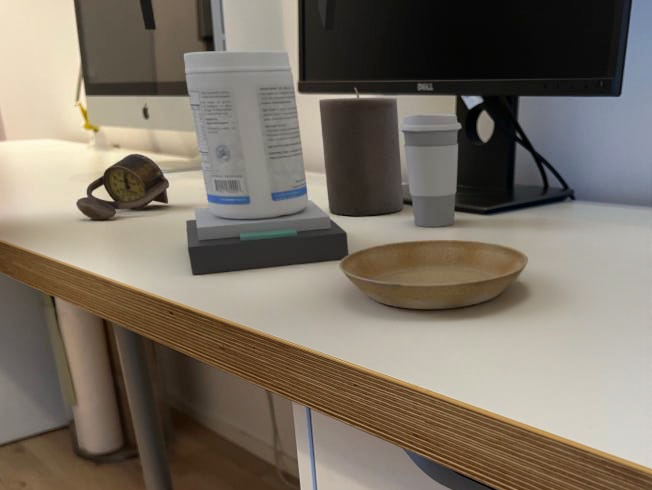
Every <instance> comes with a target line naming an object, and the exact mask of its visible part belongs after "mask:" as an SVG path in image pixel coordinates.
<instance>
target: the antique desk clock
mask: <svg viewBox="0 0 652 490" xmlns="http://www.w3.org/2000/svg"><path fill="white" fill-rule="evenodd" d="M102 186H103V187H104V189H105V191H106V192H107V194H108V196H109V197H110V198H111V199H112V200H107V199H101V198H98V197H96V196H94V195H93V192H94V191H96V190H98V189H99V188H100V187H102ZM168 188H170V182H169V179H167V178H166V177H165V175H164V173H163V171H162V169H161V167H159V165H158V164H156V162H155V161H154V160H153V159H151V158H149V157H148V156H146V155H143V154H141V153H140V154H139V153H130V154H128V155H127V156H125V157H123V158H122V159H120V160H119V161H117V162H115V163H114V164H112V165H110V166H109V167H108V168H106V169H105V171H104V172H103V175H102V176H100V177H99V178H97V179H95V180H94V181H92V182H90V183H89V184H88V186H87V187H86V197H81V198H79V199H77V201H76V202H75V205H76V207H77V209H78V210H79V211H80V212H81V213H82V214H83V215H84V216H86V217H87V218H89V219H92V220H108V219H110V218H114V216H115V215H116V214H117V210H132V211H139V210H142V209H144V208H146V207H147V206H148V205H149V204H150V203H152V202H157V203H161V204H166V205H168V204H169V198H168V192H167V189H168Z"/></svg>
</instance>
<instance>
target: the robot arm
mask: <svg viewBox="0 0 652 490" xmlns="http://www.w3.org/2000/svg"><path fill="white" fill-rule="evenodd" d="M317 3H318V4H317V9H318V12H319V16H320V20H321V23H322V27H323V30H324V31H325V32H334V31H335V20H336V19H335V18H336V7H337V0H318V2H317ZM139 5H140V9H141V15H142V19H143V25H144V29H145V30H146V31H147V30H149V31H150V30H155V31H157V27H156V20H155V14H154V8H153V2H152V0H139Z"/></svg>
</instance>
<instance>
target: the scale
mask: <svg viewBox="0 0 652 490" xmlns="http://www.w3.org/2000/svg"><path fill="white" fill-rule="evenodd" d="M194 216H195V219H187V220H186V221H185V225H186V241H187V251H188V257H189V262H190V268H191V273H192V275H193V276H196V275H204V274H216V273H224V272H233V271H243V270H244V271H245V270H253V269H263V268H272V267H280V266H291V265H299V264H300V265H301V264H308V263H318V262H328V261H338V260H342V259H343V258H344V257H346V256H347V255H349V254H350V253H349V244H348V243H349V242H348V232H346V231H345V230H344V229H343V228H342V227H341V226H339V224H338V223H336V222H335V221H334V220H333V219H332V218H331V217H330V215H329V214H328V213H326V212H325V211H324V210H323V209H322V208H321V207H319V205H317V204H316V203H315V202H313V201H312V199H308V204H307V206H306V207H305V208H304V209H303V210H301V211H299V212H297V213H294V214H290V215H281V216H278V217H273V218H264V219H228V218H222V217H218V216H216V215H214V214H213V213H212V212H211V211H210V208H209V207H203V208H201V207H200V208H194Z"/></svg>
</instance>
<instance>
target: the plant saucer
mask: <svg viewBox="0 0 652 490" xmlns="http://www.w3.org/2000/svg"><path fill="white" fill-rule="evenodd" d="M348 254H349V255H347V256H346V257H344V258H343V259H340V261H339V262H338V263H339V265H338V266H339V269H340V271H342V272H343V274H344V275H345V277H346V278H347V279H348V280H349V281H350V282H351V283H352V284H353V285H355V287H357V288H358V290H360V291H361V292H362V293H364V294H365V295H366V296H367V297H369V298H370V299H372V300H374V301H376V302H378V303H381V304H384V305H388V306H393V307H395V308H401V309H402V308H403V309H410V310H411V309H412V310H446V309H447V310H449V309H455V308H463V307H469V306H474V305H478V304H481V302H482V303H485V302H488V301H489V300H492V299H494V298H496V297H497V296H499V295H500V294H502V293H503V292H504V291H505V290H506V289H507V288H508V287H509V286H511V284H513V283H514V281H515V280H517V278H518V277H519V276H520V275H521V274H522V272H523V271H524V269H525V268H526V266H527V265H528V263H529V258H528V256H527V255H526V254H525V253H524V252H523V251H521V250H518V249H515V248H513V247H510V246H505V245H501V244H498V243H491V242H482V241H476V240H459V239H429V240H427V239H426V240H425V239H424V240H410V241H399V242H391V243H385V244H381V245H379V244H378V245H375V246H370V247H366V248H362V249H359V250H356V251H354V252H352V253H348ZM484 301H485V302H484ZM473 304H474V305H473Z"/></svg>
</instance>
